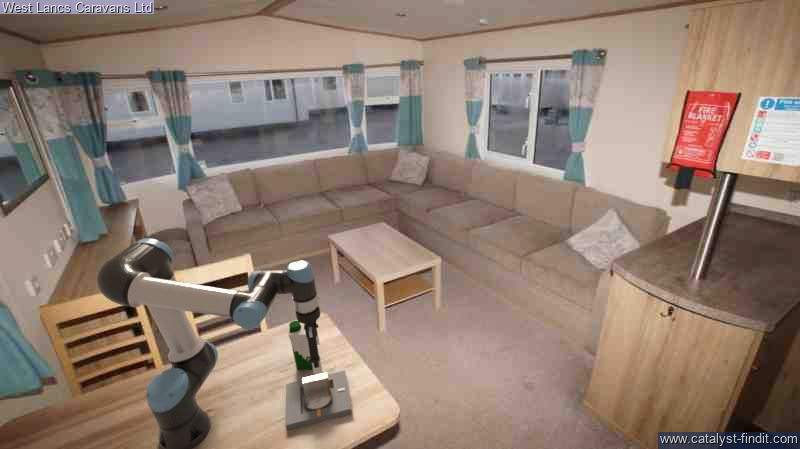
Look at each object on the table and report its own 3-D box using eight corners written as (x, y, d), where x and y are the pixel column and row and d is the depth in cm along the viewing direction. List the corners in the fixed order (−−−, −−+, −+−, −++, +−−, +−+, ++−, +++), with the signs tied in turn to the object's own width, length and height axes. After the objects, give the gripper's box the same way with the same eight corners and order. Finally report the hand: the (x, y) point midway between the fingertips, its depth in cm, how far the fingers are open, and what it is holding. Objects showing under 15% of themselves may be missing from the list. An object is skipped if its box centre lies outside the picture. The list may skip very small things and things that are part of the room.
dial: (304, 414, 131) (299, 392, 127) (303, 392, 140) (299, 370, 136) (333, 407, 133) (329, 385, 129) (330, 385, 142) (327, 364, 138)
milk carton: (299, 355, 158) (291, 316, 150) (321, 355, 158) (314, 316, 150) (294, 371, 150) (285, 331, 142) (316, 371, 150) (309, 331, 142)
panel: (286, 430, 127) (285, 424, 125) (287, 388, 143) (286, 383, 141) (352, 413, 131) (351, 407, 130) (345, 375, 147) (344, 369, 146)
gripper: (321, 329, 110) (331, 382, 119) (316, 284, 132) (325, 332, 141) (295, 334, 109) (307, 388, 117) (294, 288, 131) (304, 336, 140)
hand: (316, 358), depth 129 cm, fingers open, 13 cm apart
